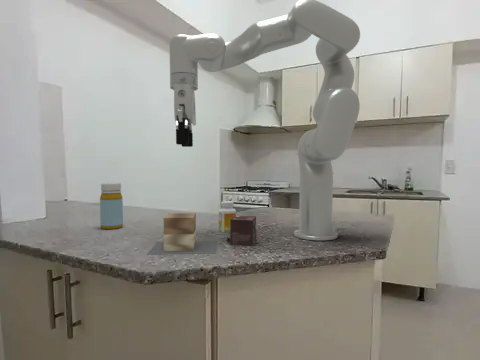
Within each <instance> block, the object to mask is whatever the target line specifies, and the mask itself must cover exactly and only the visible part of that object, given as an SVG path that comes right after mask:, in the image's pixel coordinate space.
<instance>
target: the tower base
mask: <svg viewBox="0 0 480 360" xmlns="http://www.w3.org/2000/svg"><path fill="white" fill-rule="evenodd" d="M196 241H197V228H196V229H195V232H194V234H173V235H164V234H163V242H164V251H194V248H195V245H196Z"/></svg>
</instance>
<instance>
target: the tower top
mask: <svg viewBox="0 0 480 360" xmlns="http://www.w3.org/2000/svg"><path fill="white" fill-rule="evenodd" d="M196 215H197V214H196V213H195V212H194V213H191V212H189V213H188V212H187V213H185V212H184V213H181V212H180V213H176V212H175V213H171V212H170V213H167V214H166V215H165V216H164V217H163V236H164V235H173V234H194V232H195V229H196V230H197V228H196V227H197V221H196V220H197V216H196Z"/></svg>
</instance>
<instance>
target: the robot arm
mask: <svg viewBox="0 0 480 360" xmlns="http://www.w3.org/2000/svg"><path fill="white" fill-rule="evenodd" d="M312 35H313V36H314V37H316V38H317V39H318V41H317V43H316V45H315V54H316V57H317V60H318V61H319V62H320V65H321V66H322V67H323V71H324V77H323V80H322V84H321V86H320V90H319V92H318V95H317V99H316V101H315V102H314V106H313V110H312V117H313V120H314V121H315V123H316V124H317V126H316V127H315V128H312V129H310V130H307V131H306V132H305V133H303V135H302V136H301V137H300V139H299V141H298V143H297V155H298V157H297V158H298V165H299V166H298V167H299V202H298V203H299V209H298V210H299V211H298V212H299V215H298V216H299V221H298V225H299V227H298V229H295V230H293V235H294V237H295V238H298V239H302V240H306V241H307V240H308V241H330V240H331V241H332V240H336V239H337V238H338V237H339V234H338V232H339V231H349V230H350V226H349V223H341V222H339V223H338V222H336V221H333V198H334V197H333V193H334V191H333V189H334V188H333V187H334V186H333V185H334V173H333V166H332V161H335V160H337V159H339V158H340V157H341V156H342V155H343V154H344V153H345V152H346V150H347V147H348V145H349V142H350V140H351V137H352V134H353V131H354V129H355V126H356V122H357V120H358V116H359V113H360V108H361V107H360V99H359V96H358V94H357V93H356V92H355V91H354V90H353V89H352V88H353V84H354V81H355V70H354V69H355V68H354V66H353V64H352V61H351V60H350V58H349V57H348V53H351V51H353V49H355V48H356V46H358V43H359V42H360V39H361V31H360V27H359V25H358V23H357V22H355V20H353V19H352V18H350V17H349V16H347V15H345V14H344V13H342V12H340V11H338V10H336V9H334V8H333V7H331V6H330V5H327V4H325V3H323V2H321V1H318V0H298V1H296V2H295V3H294V5H293V7H292V8H291V10H290V12H288V13H285V14H281V15H277V16H275V17H270V18H267V19H263V20H258V21H256V22H254V23H252V24H251V25H250V26H249V27H248V28H246V29H245V30H244V31H243V32H241V34H240V35H238V36H237V37H235V38H234V39H233V38H232V39H231V40H229V41H227V42H225V40H224V38H223V37H222V36H220V35H219V34H217V33H213V32H211V33H210V32H209V33H201V34H195V35H194V34H193V35H191V34H190V35H189V34H183V33H181V34H174V35H173V36H172V37H171V38H170V40H169V88H170V89H171V90H172V91H173V110H174V113H173V114H174V121H175V123H176V125H175V128H176V129H175V142H176V145H180V146H181V147H182V148H183V147H184V148H186V147H188V148H192V147H193V144H194V143H193V142H194V140H193V138H194V137H193V128H192V127H193V126H196V125H197V115H196V97H195V96H196V95H195V91H197V90H198V89H199V86H198V83H199V82H198V80H199V79H198V76H199V75H198V74H199V73H198V64H199V66H200V68H201V69H203V70H204V71H206V72H209V73H215V72H220V71H221V72H222V71H225V70H228V69H230V68H234V67H237V66H240V65H242V64H244V63H246V62H249V61H251V60H253V59H256V58H258V57H260V56H261V55H264V54H268V53H271V52H275V51H277V50H278V51H279V50H282V49H284V48H288V47H291V46H293V47H294V46H295V45H299V44H302V43H304V42H306V41H307V40H308V39H309V38H310V37H311V36H312Z"/></svg>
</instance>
